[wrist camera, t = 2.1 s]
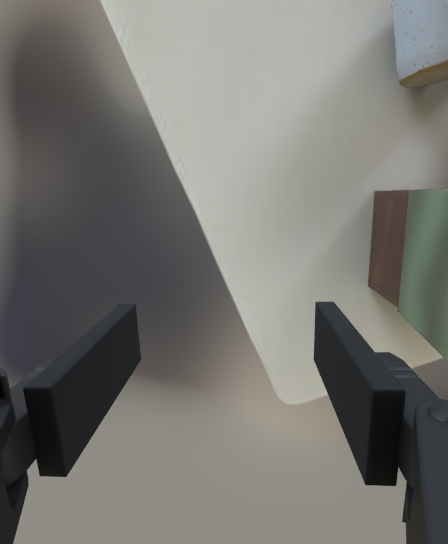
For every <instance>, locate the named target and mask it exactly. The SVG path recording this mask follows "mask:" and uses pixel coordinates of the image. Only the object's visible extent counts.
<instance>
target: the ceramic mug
mask: <svg viewBox="0 0 448 544" xmlns="http://www.w3.org/2000/svg"><path fill="white" fill-rule="evenodd" d="M392 15H393V30H394V41H395V52H396V68H397V74H398V78H399V82H400V84H401V85H402V86H404V87H406V88H413V87H419V86H424V85H429V84H432V83H436V82H440V81H443V80H446V79H448V0H393V2H392Z"/></svg>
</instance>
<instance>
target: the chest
mask: <svg viewBox="0 0 448 544" xmlns="http://www.w3.org/2000/svg"><path fill="white" fill-rule="evenodd" d="M420 190H438V189H420ZM408 198H409V190H392V191H375V196H374V211H373V225H372V239H371V254H370V268H369V283H368V286H369V287H371V288H372V289H373V290H375V291H376V292H377V293H379V294H380V295H381V296H383V297H384V298H385V299H387V300H388V301H389V302H391V303H392V304H393V305H395V306H396V307H397V308H398V306H399V295H400V284H401V273H402V263H403V252H404V241H405V230H406V219H407V209H408Z"/></svg>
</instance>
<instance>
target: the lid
mask: <svg viewBox="0 0 448 544" xmlns="http://www.w3.org/2000/svg"><path fill="white" fill-rule="evenodd" d="M398 312H399V313H400V314H401V315H402V316H403V317H404V318H405V319H406V320H407V321H408V322H409V323H410V324H411V325H412V326H413V327H414V328H415V329H416V330H417V331H418V332H419V333H420V334H421V335H422V336H423V337H424V338H425V339H426V340H427V341H428V342H429V343H430V344H431V345H432V346H433V347H434V348H435V349H436V350H437V351H438V352H439V353H440V354H441V355H442V356H443V357H444V358H445V359H446V360H447V361H448V189H438V190H409V198H408V209H407V219H406V230H405V241H404V252H403V263H402V273H401V284H400V295H399V306H398Z"/></svg>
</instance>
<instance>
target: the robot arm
mask: <svg viewBox="0 0 448 544" xmlns="http://www.w3.org/2000/svg"><path fill="white" fill-rule="evenodd" d="M140 360H141V355H140V344H139V335H138V324H137V315H136V305H135V304H119V305H118V306H117V307H115V309H113V310H112V311H111V312H110V313H109V314H107V315H106V316H105V317H104V318H103V319H102V320H100V321H99V322H98V323H97V324H96V325H95V326H93V327H92V328H91V329H90V330H89V331H88V332H86V333H85V334H84V335H83V336H82V337H81V338H80V339H79V340H77V341H76V342H75V343H74V344H73V345H71V346H70V347H69V348H68V349H67V350H66V351H65V352H63V353H62V354H57V355H55V356H53V357H51V358H49V359H47V360H46V361H44V362H43V363H41V364H40V365H39V366H38V367H37V368H36V369H35V370H33V371H32V372H31V373H29V374H28V375H27V377H25V378H23V379H22V380H21V381H20V382H19V383H17V384H16V385H15V386H14V387H12V388H11V389H10V388H9V383H8V378H7V373H6V371H5V370H3V369H0V544H13V542H14V538H15V535H16V531H17V527H18V523H19V519H20V515H21V512H22V508H23V504H24V500H25V496H26V493H27V489H28V475H27V469H28V468H29V467H30V466H31V464H32V463H33V462H34V460H35V459H37V464H38V469H39V474H40V476H54V477H66V476H67V475H68V473H69V472H70V470H71V469H72V467H73V466H74V464H75V462H76V461H77V459H78V458H79V456H80V455H81V453H82V451H83V450H84V448H85V447H86V445H87V444H88V442H89V440H90V439H91V437H92V436H93V434H94V433H95V431H96V429H97V428H98V426H99V425H100V423H101V422H102V420H103V418H104V417H105V415H106V414H107V412H108V411H109V409H110V407H111V406H112V404H113V403H114V401H115V400H116V398H117V396H118V395H119V393H120V392H121V390H122V389H123V387H124V385H125V384H126V382H127V381H128V379H129V378H130V376H131V374H132V373H133V371H134V370H135V368H136V367H137V365H138V363H139V362H140ZM314 361H315V363H316V366H317V368H318V371H319V373H320V376H321V378H322V380H323V383H324V385H325V388H326V390H327V393H328V395H329V397H330V400H331V402H332V405H333V407H334V410H335V412H336V414H337V417H338V419H339V422H340V424H341V427H342V429H343V431H344V434H345V436H346V439H347V441H348V443H349V446H350V448H351V451H352V453H353V456H354V458H355V460H356V463H357V465H358V468H359V470H360V473H361V475H362V477H363V480H364V482H365V485H383V486H396V482H397V473H398V467H399V468H400V470H401V472H402V474H403V476H404V478H405V479H406V481H407V485H406V493H405V502H404V511H403V520H402V522H405V523H406V544H448V401H447V400H443V399H439V398H438V397H437V396H436V395H435V394H434V392H433V391H432V390H431V389H430V388H429V387H428V386H427V385H426V384H425V383H424V382H423V381H422V380H421V379H420V378H418V376H417V375H416V373H414V371H412V370H411V368H410V367H409V366H408V365H407V364H406V363H405V362H404V361H403V360H402V359H400V358H398V357H397V356H395V355H393V354H391V353H389V352H374V351H373V349H372V348H371V347H370V346H369V345H368V343H367V342H366V341H365V340H364V338H363V337H362V336H361V335H360V334H359V332H358V331H357V330H356V329H355V327H354V326H353V325H352V324H351V322H350V321H349V320H348V319H347V318H346V316H345V315H344V314H343V313H342V311H341V310H340V309H339V308H338V307H337V305H336V304H335V303H334V302H316V309H315V340H314Z"/></svg>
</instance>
